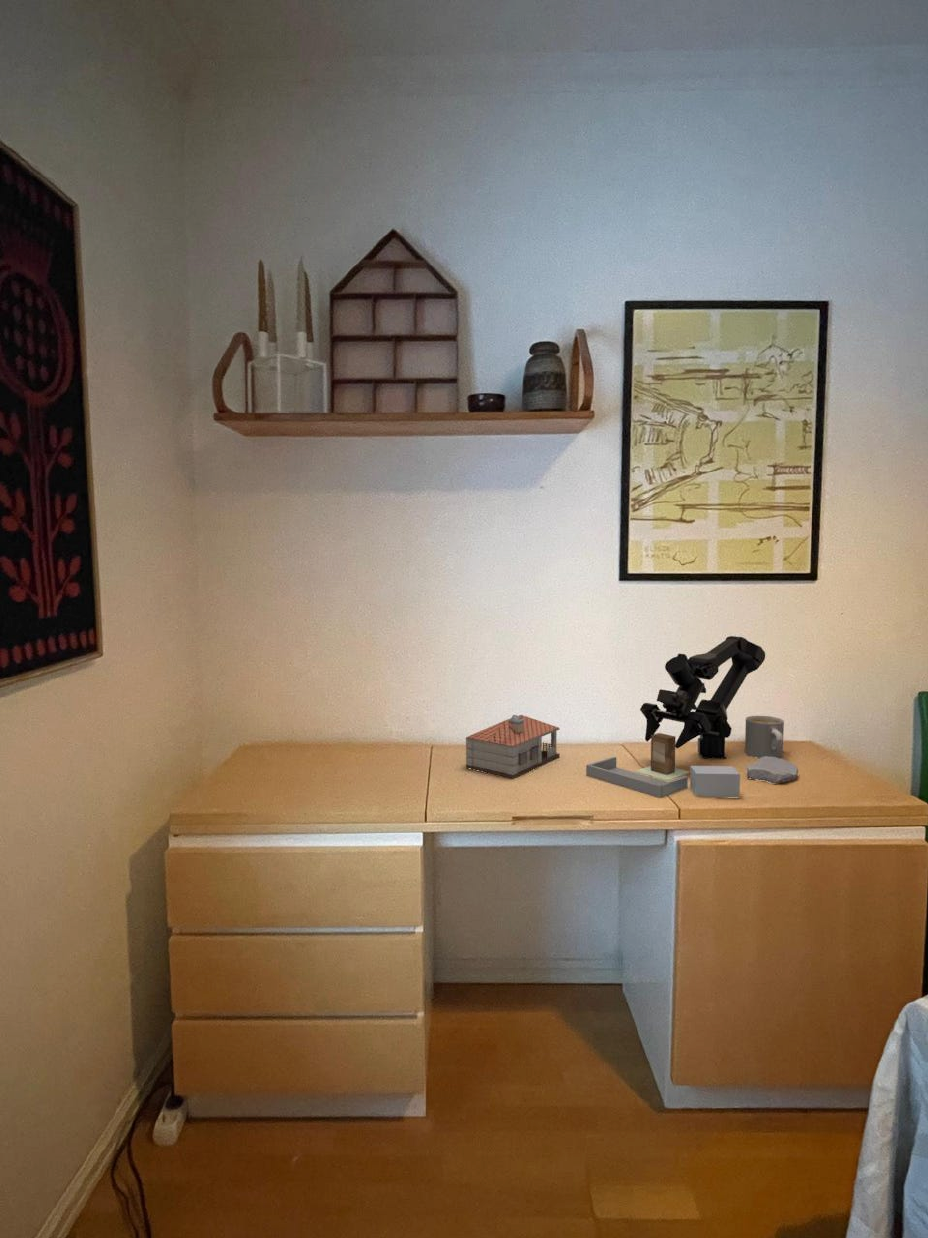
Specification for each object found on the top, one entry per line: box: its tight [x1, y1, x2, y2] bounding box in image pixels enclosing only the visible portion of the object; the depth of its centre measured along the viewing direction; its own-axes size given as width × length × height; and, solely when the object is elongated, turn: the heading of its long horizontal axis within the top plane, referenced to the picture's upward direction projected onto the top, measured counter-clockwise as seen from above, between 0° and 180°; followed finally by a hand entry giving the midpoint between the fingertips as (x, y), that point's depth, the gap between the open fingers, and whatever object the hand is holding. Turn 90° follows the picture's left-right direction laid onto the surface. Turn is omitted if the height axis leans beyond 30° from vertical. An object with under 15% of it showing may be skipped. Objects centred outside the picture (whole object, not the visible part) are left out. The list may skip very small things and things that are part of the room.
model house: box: [465, 714, 560, 780], centre depth 198 cm, size 24×16×15 cm, turn 143°
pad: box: [634, 765, 690, 781], centre depth 188 cm, size 10×10×1 cm
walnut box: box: [650, 732, 676, 775], centre depth 188 cm, size 4×5×10 cm
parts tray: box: [585, 756, 689, 799], centre depth 181 cm, size 11×23×3 cm, turn 40°
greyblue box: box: [689, 765, 741, 798], centre depth 172 cm, size 10×6×6 cm, turn 85°
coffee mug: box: [744, 715, 785, 759], centre depth 202 cm, size 13×10×10 cm
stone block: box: [746, 756, 799, 784], centre depth 184 cm, size 12×5×10 cm
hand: (660, 744), depth 187 cm, fingers open, 9 cm apart
